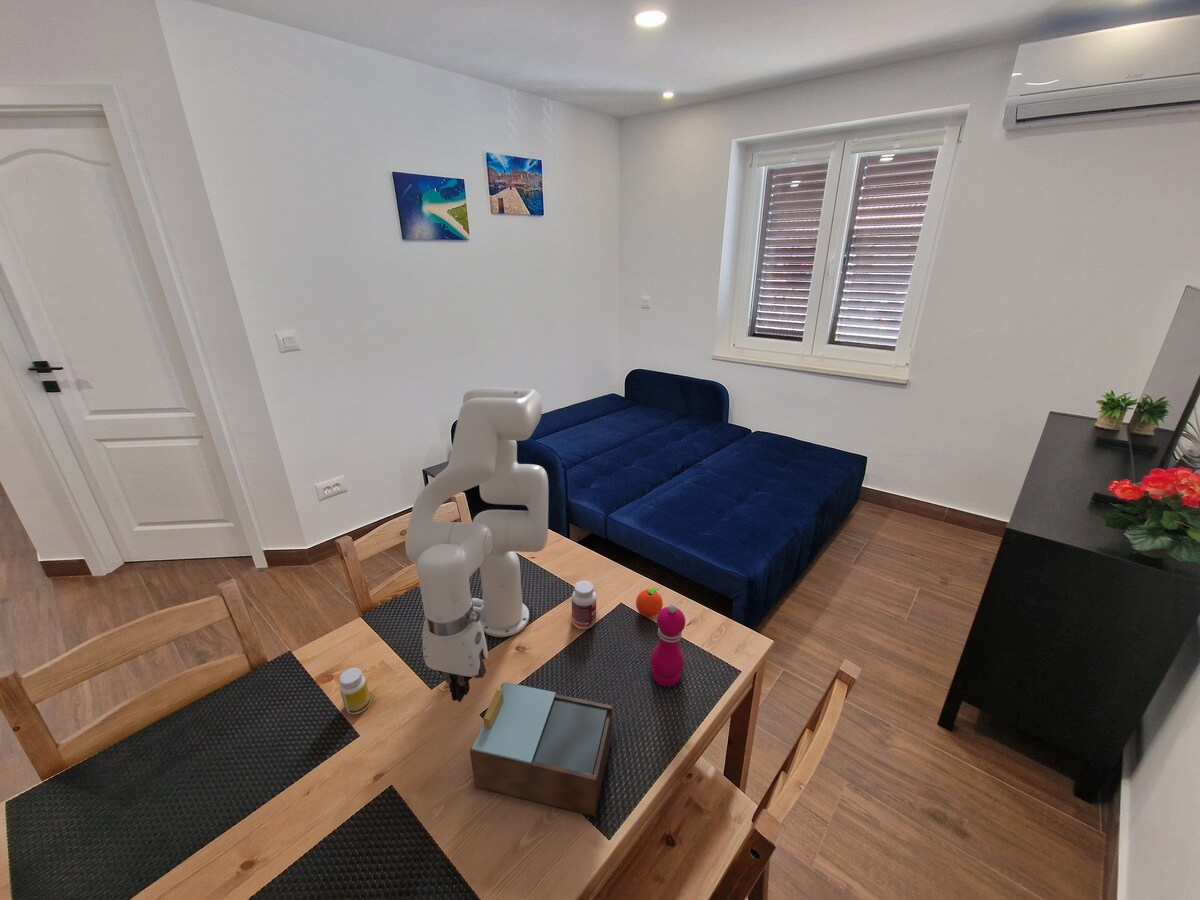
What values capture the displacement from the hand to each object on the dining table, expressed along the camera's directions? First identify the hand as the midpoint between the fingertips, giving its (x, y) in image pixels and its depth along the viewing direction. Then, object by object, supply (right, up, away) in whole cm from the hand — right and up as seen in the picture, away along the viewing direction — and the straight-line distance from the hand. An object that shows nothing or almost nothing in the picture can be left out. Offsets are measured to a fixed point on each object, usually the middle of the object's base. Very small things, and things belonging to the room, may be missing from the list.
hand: (460, 694), depth 87 cm
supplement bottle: (-25, -9, +14) cm, 30 cm away
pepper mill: (+40, -7, +21) cm, 46 cm away
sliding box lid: (+10, -5, 0) cm, 11 cm away
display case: (+15, -14, +3) cm, 21 cm away
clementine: (+38, +1, +40) cm, 55 cm away
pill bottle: (+21, 0, +36) cm, 42 cm away
